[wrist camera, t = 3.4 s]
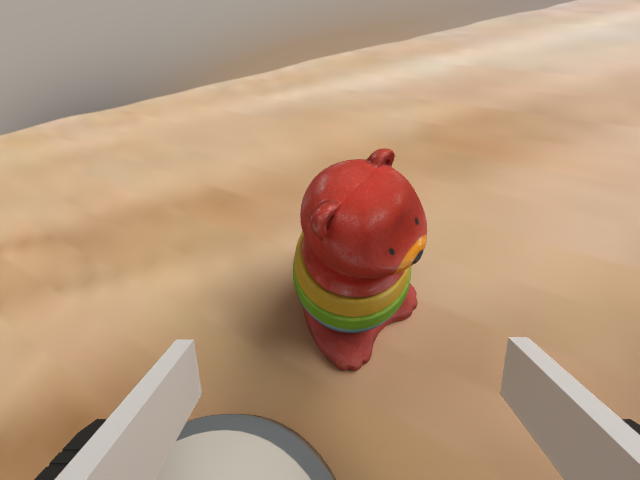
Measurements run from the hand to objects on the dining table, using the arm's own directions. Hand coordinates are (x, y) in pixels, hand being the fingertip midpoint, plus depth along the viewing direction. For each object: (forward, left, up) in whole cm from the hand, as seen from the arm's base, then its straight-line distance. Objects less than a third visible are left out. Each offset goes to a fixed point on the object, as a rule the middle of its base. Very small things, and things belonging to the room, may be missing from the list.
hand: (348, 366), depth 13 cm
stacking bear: (-5, -6, -16) cm, 18 cm away
